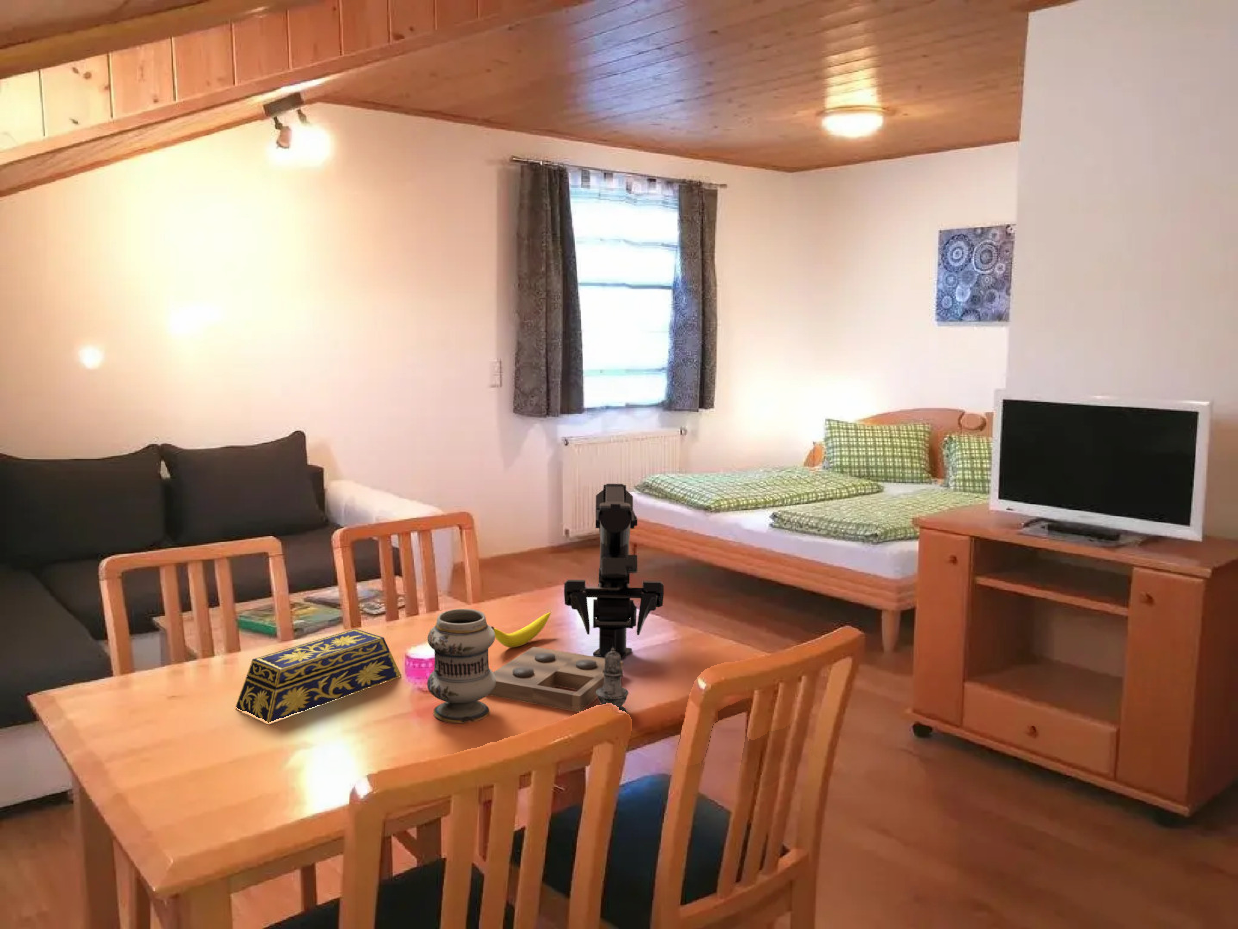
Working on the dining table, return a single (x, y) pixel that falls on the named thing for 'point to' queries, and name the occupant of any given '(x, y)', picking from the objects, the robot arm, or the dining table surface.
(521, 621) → the dining table surface
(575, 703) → the brown peg board
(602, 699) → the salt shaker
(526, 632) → the banana
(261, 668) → the decorative box
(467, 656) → the apothecary jar
